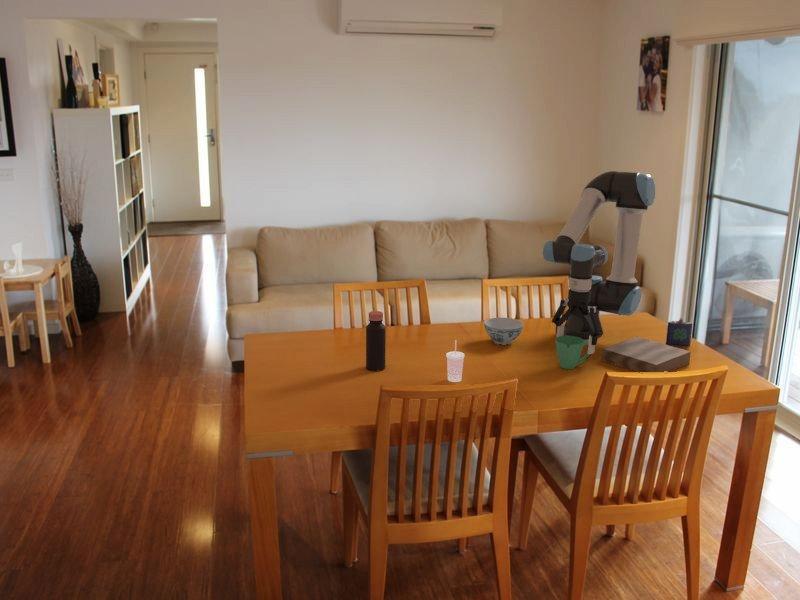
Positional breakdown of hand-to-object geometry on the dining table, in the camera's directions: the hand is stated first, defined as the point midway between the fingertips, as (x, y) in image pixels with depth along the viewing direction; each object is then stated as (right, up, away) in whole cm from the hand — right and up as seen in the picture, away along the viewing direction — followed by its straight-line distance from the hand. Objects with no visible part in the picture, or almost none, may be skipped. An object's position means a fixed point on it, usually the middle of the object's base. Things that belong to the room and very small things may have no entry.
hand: (574, 348), depth 267 cm
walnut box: (+27, -6, +7) cm, 29 cm away
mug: (0, -7, +2) cm, 7 cm away
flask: (+46, -1, +26) cm, 53 cm away
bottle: (-70, -7, -2) cm, 70 cm away
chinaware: (-22, 0, +27) cm, 35 cm away
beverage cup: (-43, -10, -11) cm, 46 cm away
